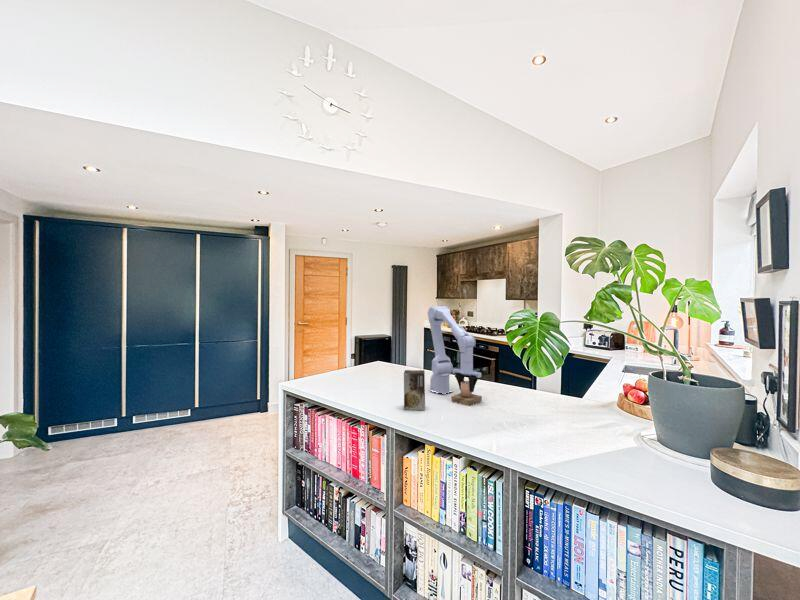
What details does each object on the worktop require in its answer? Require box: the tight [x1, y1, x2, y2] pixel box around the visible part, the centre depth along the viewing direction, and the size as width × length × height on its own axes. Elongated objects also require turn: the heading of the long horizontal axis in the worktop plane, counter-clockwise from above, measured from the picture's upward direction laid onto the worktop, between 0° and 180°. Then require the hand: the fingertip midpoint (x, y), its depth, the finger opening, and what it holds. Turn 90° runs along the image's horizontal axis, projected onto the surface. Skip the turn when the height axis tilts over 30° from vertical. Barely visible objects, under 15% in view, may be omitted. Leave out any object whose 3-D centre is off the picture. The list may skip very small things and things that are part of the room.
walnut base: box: [451, 392, 483, 407], centre depth 164 cm, size 10×10×2 cm
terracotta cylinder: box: [460, 380, 473, 397], centre depth 164 cm, size 5×5×6 cm
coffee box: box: [403, 369, 426, 411], centre depth 155 cm, size 9×6×16 cm
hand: (466, 390), depth 164 cm, fingers closed on terracotta cylinder, 5 cm apart
